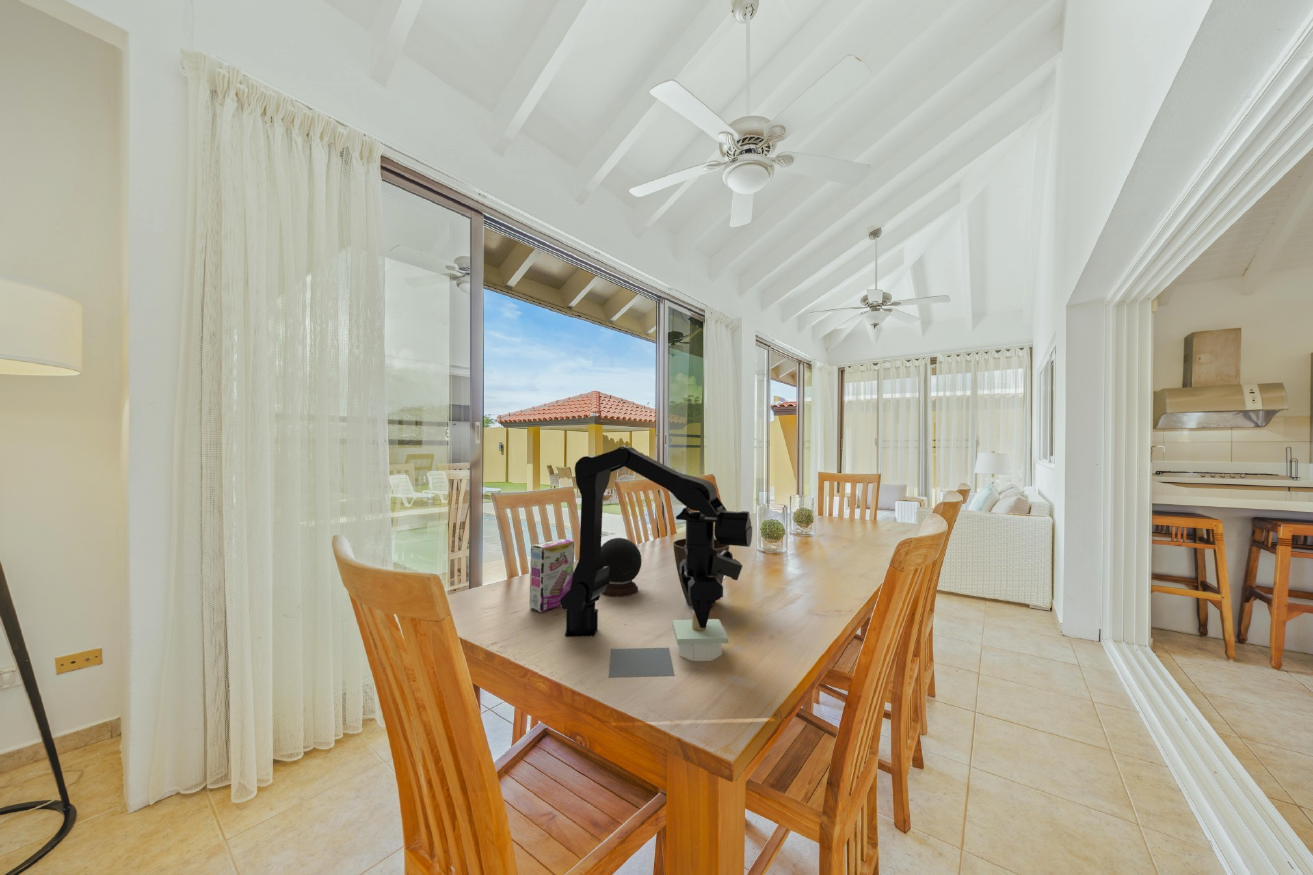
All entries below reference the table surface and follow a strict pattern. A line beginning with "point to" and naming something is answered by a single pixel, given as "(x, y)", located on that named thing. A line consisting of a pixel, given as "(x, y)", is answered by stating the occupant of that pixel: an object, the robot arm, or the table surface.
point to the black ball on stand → (621, 566)
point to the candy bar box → (550, 573)
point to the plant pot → (681, 555)
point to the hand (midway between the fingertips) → (699, 618)
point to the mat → (640, 662)
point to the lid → (699, 631)
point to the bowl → (700, 651)
